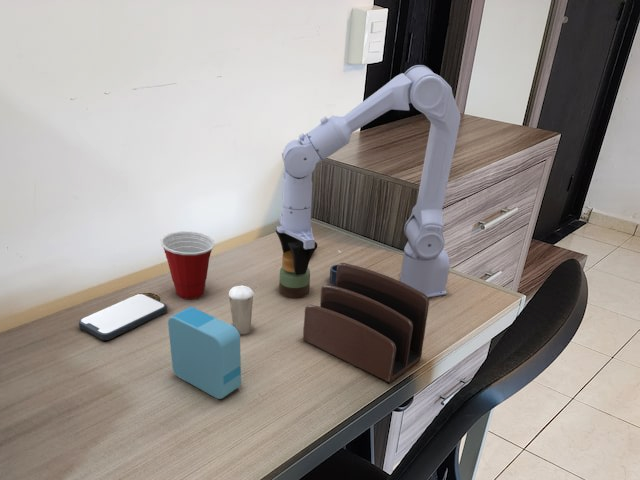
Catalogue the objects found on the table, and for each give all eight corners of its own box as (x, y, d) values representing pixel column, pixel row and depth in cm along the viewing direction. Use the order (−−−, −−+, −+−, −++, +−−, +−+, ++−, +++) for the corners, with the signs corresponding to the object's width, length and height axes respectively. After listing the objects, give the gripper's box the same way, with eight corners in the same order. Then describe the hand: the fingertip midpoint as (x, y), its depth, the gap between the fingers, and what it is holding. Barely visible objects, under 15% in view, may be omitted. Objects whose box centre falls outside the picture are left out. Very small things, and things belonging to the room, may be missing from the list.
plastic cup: (214, 306, 126) (211, 251, 120) (161, 305, 126) (156, 250, 120) (219, 281, 135) (217, 230, 129) (170, 280, 135) (165, 229, 129)
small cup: (343, 276, 139) (344, 263, 137) (351, 284, 135) (353, 271, 134) (326, 278, 137) (327, 265, 136) (334, 287, 134) (335, 274, 132)
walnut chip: (302, 282, 136) (302, 272, 135) (313, 295, 131) (314, 285, 130) (275, 286, 134) (275, 276, 133) (285, 300, 129) (285, 290, 128)
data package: (241, 390, 103) (240, 328, 96) (223, 402, 100) (220, 340, 93) (191, 363, 109) (186, 303, 103) (172, 374, 106) (166, 314, 100)
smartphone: (141, 298, 129) (76, 327, 119) (140, 291, 128) (75, 320, 118) (170, 312, 125) (105, 343, 114) (169, 305, 124) (104, 336, 113)
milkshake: (257, 337, 117) (257, 289, 111) (229, 336, 117) (227, 289, 111) (258, 324, 121) (258, 278, 115) (231, 324, 121) (229, 277, 115)
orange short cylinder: (302, 259, 132) (302, 248, 131) (312, 270, 128) (312, 258, 126) (278, 263, 131) (278, 251, 129) (287, 274, 126) (287, 262, 125)
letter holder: (335, 321, 122) (340, 255, 114) (421, 361, 111) (433, 291, 103) (302, 340, 116) (304, 272, 108) (389, 384, 105) (400, 312, 97)
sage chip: (302, 272, 135) (303, 262, 133) (314, 285, 130) (314, 275, 128) (275, 276, 133) (275, 266, 131) (285, 290, 128) (286, 279, 126)
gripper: (265, 194, 126) (265, 256, 134) (291, 220, 115) (289, 285, 123) (298, 191, 128) (296, 251, 136) (326, 215, 117) (322, 280, 125)
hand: (295, 267), depth 129 cm, fingers closed on orange short cylinder, 5 cm apart
